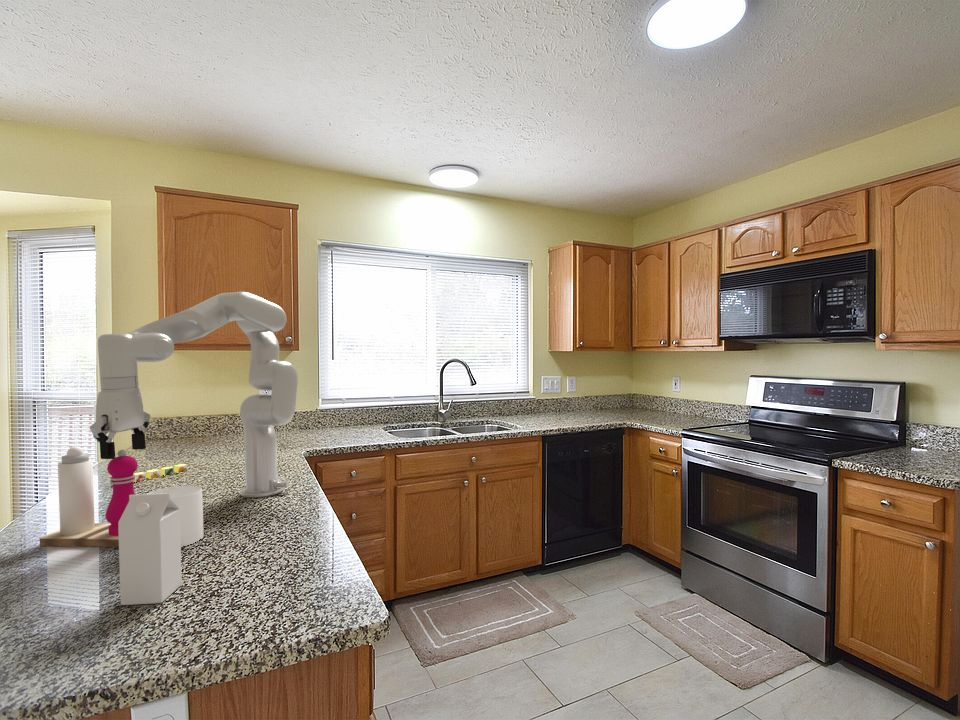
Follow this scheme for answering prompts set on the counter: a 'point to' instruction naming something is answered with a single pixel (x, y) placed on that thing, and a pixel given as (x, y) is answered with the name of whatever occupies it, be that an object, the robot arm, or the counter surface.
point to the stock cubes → (160, 472)
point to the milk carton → (149, 549)
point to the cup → (187, 511)
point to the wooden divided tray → (82, 538)
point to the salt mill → (76, 492)
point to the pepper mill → (120, 488)
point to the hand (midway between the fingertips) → (124, 453)
